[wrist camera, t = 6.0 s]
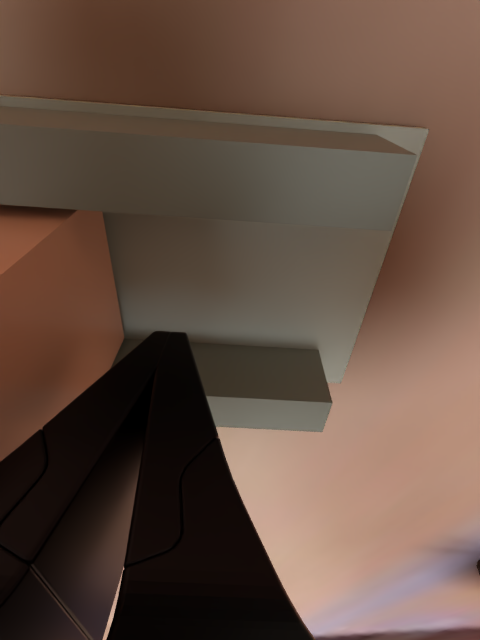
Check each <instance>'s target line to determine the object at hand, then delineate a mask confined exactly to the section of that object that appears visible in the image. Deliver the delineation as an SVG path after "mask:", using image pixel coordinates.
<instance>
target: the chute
mask: <svg viewBox="0 0 480 640" xmlns="http://www.w3.org/2000/svg"><path fill="white" fill-rule="evenodd" d="M428 132H429V129H427V128H424V127H411V126H398V125H385V124H372V123H359V122H346V121H334V120H321V119H308V118H295V117H282V116H269V115H256V114H243V113H230V112H217V111H204V110H191V109H178V108H166V107H153V106H140V105H127V104H114V103H101V102H88V101H75V100H62V99H49V98H36V97H23V96H10V95H0V204H1V205H15V206H30V207H44V208H59V209H73V210H88V211H102V213H103V219H104V224H105V230H106V236H107V241H108V247H109V253H110V258H111V264H112V270H113V275H114V281H115V287H116V292H117V298H118V304H119V309H120V315H121V321H122V326H123V332H124V340H123V342H122V344H121V346H120V348H119V351H118V353H117V355H116V357H115V360H114V362H113V364H112V366H111V368H112V367H113V366H114V365H115V364H116V363H118V362H119V361H120V360H121V359H122V358H123V357H125V356H126V355H127V354H128V353H129V352H130V351H132V350H133V349H134V348H135V347H136V346H137V345H139V344H140V343H141V342H142V341H143V340H144V339H146V338H147V337H148V336H149V335H150V334H151V333H153V332H154V331H170V332H185V333H187V335H188V338H189V341H190V345H191V348H192V351H193V354H194V358H195V361H196V364H197V367H198V371H199V374H200V377H201V380H202V384H203V387H204V390H205V394H206V397H207V400H208V403H209V407H210V410H211V413H212V416H213V420H214V423H215V426H216V427H234V428H253V429H272V430H291V431H310V432H323V429H324V426H325V423H326V420H327V417H328V414H329V411H330V408H331V405H332V400H331V396H330V392H329V388H328V384H327V383H341V382H342V379H343V376H344V373H345V370H346V367H347V364H348V362H349V359H350V356H351V353H352V350H353V347H354V344H355V341H356V339H357V336H358V333H359V330H360V327H361V324H362V321H363V318H364V316H365V313H366V310H367V307H368V304H369V301H370V298H371V295H372V293H373V290H374V287H375V284H376V281H377V278H378V275H379V272H380V270H381V267H382V264H383V261H384V258H385V255H386V252H387V249H388V247H389V244H390V241H391V238H392V235H393V232H394V229H395V226H396V224H397V221H398V218H399V215H400V212H401V209H402V206H403V204H404V201H405V198H406V195H407V192H408V189H409V186H410V183H411V181H412V178H413V175H414V172H415V169H416V166H417V163H418V160H419V158H420V155H421V152H422V149H423V146H424V143H425V140H426V137H427V135H428ZM111 368H110V369H111Z"/></svg>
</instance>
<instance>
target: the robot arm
mask: <svg viewBox="0 0 480 640" xmlns="http://www.w3.org/2000/svg"><path fill="white" fill-rule="evenodd" d="M123 567H124V570H123ZM122 570H123V574H122ZM121 574H122V580H121V585H120V591H119V596H118V600H117V605H116V609H115V613H114V618H113V621H112V624H111V627H110V631H109V634H108V637H107V640H315V638H314V637H313V635H312V634H311V633H310V631H309V630H308V628H307V627H306V626H305V624H304V623H303V621H302V619H301V618H300V616H299V614H298V613H297V611H296V609H295V608H294V606H293V604H292V602H291V601H290V599H289V597H288V595H287V593H286V591H285V589H284V587H283V585H282V583H281V581H280V579H279V577H278V575H277V574H276V571H275V569H274V567H273V565H272V563H271V561H270V559H269V557H268V554H267V552H266V550H265V548H264V546H263V544H262V542H261V540H260V538H259V535H258V533H257V531H256V529H255V527H254V525H253V523H252V521H251V518H250V516H249V514H248V512H247V510H246V508H245V506H244V504H243V501H242V499H241V496H240V494H239V492H238V489H237V487H236V485H235V482H234V480H233V478H232V475H231V472H230V469H229V466H228V463H227V461H226V458H225V455H224V452H223V448H222V445H221V442H220V439H219V438H218V433H217V429H216V426H215V423H214V420H213V416H212V413H211V410H210V407H209V403H208V400H207V397H206V394H205V390H204V387H203V384H202V380H201V377H200V374H199V371H198V367H197V364H196V361H195V358H194V354H193V351H192V348H191V345H190V341H189V338H188V335H187V333H185V332H170V331H154V332H153V333H151V334H150V335H149V336H148V337H147V338H146V339H144V340H143V341H142V342H141V343H140V344H139V345H137V346H136V347H135V348H134V349H133V350H132V351H130V352H129V353H128V354H127V355H126V356H125V357H123V358H122V359H121V360H120V361H119V362H118V363H116V364H115V365H114V366H113V367H112V368H111V369H109V370H108V371H107V372H106V373H105V374H104V375H102V376H101V377H100V378H99V379H98V380H96V381H95V382H94V383H93V384H92V385H91V386H89V387H88V388H87V389H86V390H85V391H84V392H82V393H81V394H80V395H79V396H78V397H77V398H75V399H74V400H73V401H72V402H71V403H70V404H68V405H67V406H66V407H65V408H64V409H63V410H61V411H60V412H59V413H58V414H57V415H56V416H54V417H53V418H52V419H51V420H50V421H49V422H47V423H46V424H45V425H44V426H43V430H42V429H39V430H38V431H37V432H35V433H34V434H33V435H32V436H31V437H30V438H28V439H27V440H26V441H25V442H24V443H23V444H21V445H20V446H19V447H18V448H16V449H15V450H14V451H13V452H12V453H10V454H9V455H8V456H7V457H5V458H4V459H3V460H2V461H1V462H0V640H102V639H103V636H104V633H105V629H106V626H107V622H108V619H109V615H110V612H111V608H112V605H113V601H114V598H115V594H116V591H117V588H118V584H119V581H120V577H121Z"/></svg>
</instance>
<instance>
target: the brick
mask: <svg viewBox="0 0 480 640" xmlns="http://www.w3.org/2000/svg"><path fill="white" fill-rule="evenodd" d="M123 340H124V332H123V326H122V321H121V315H120V309H119V304H118V298H117V292H116V287H115V281H114V275H113V270H112V264H111V258H110V253H109V247H108V241H107V236H106V230H105V224H104V219H103V213H102V211H88V210H73V209H59V208H44V207H30V206H15V205H1V204H0V462H1V461H2V460H3V459H4V458H5V457H7V456H8V455H9V454H10V453H12V452H13V451H14V450H15V449H16V448H18V447H19V446H20V445H21V444H23V443H24V442H25V441H26V440H27V439H28V438H30V437H31V436H32V435H33V434H34V433H35V432H37V431H38V430H39V429H42V430H43V426H44V425H45V424H46V423H47V422H49V421H50V420H51V419H52V418H53V417H54V416H56V415H57V414H58V413H59V412H60V411H61V410H63V409H64V408H65V407H66V406H67V405H68V404H70V403H71V402H72V401H73V400H74V399H75V398H77V397H78V396H79V395H80V394H81V393H82V392H84V391H85V390H86V389H87V388H88V387H89V386H91V385H92V384H93V383H94V382H95V381H96V380H98V379H99V378H100V377H101V376H102V375H104V374H105V373H106V372H107V371H108V370H109V369H110V368H111V366H112V364H113V362H114V360H115V357H116V355H117V353H118V351H119V348H120V346H121V344H122V342H123Z"/></svg>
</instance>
